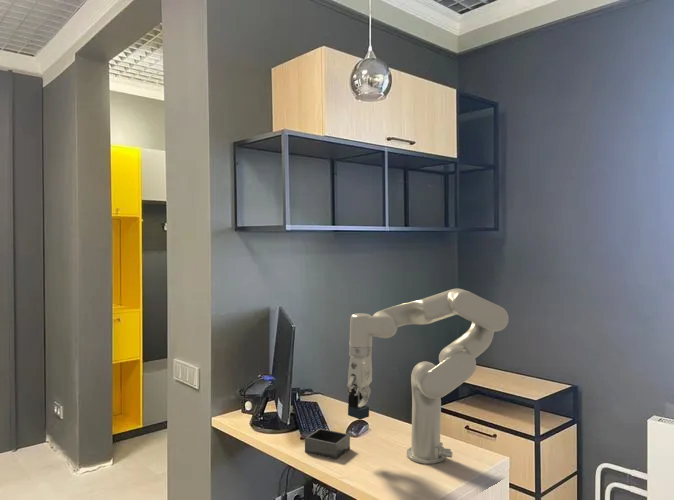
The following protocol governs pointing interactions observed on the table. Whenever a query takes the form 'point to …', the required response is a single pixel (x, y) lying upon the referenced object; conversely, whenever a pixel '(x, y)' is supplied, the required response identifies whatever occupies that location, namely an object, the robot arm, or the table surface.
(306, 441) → the open box
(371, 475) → the table surface
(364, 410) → the watch
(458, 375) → the robot arm
